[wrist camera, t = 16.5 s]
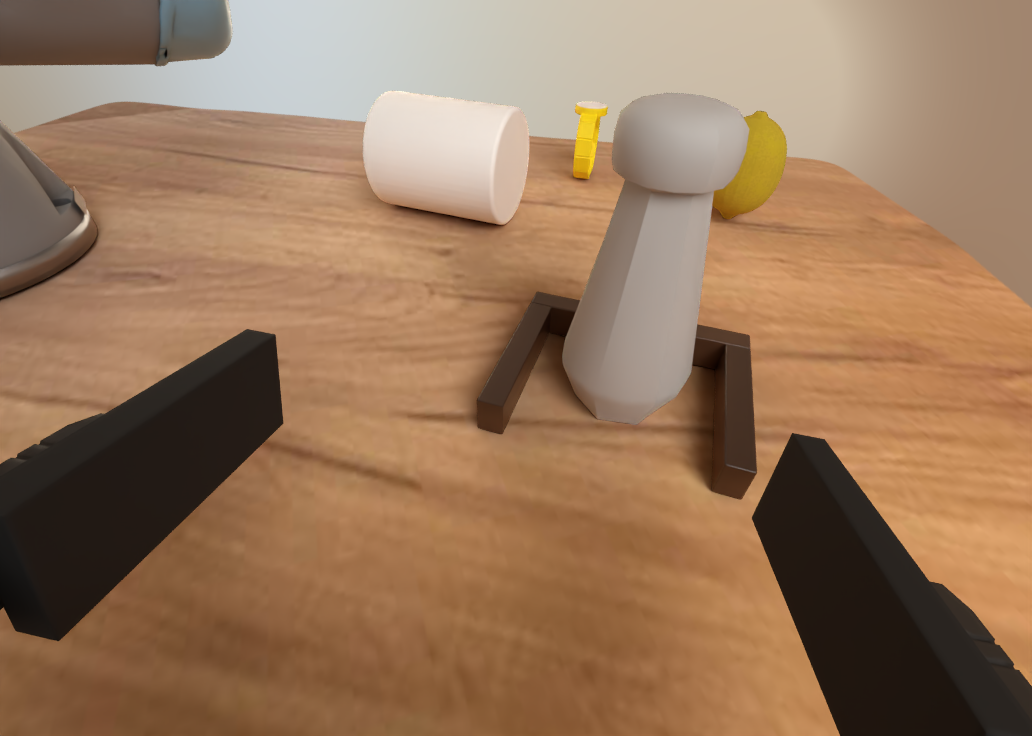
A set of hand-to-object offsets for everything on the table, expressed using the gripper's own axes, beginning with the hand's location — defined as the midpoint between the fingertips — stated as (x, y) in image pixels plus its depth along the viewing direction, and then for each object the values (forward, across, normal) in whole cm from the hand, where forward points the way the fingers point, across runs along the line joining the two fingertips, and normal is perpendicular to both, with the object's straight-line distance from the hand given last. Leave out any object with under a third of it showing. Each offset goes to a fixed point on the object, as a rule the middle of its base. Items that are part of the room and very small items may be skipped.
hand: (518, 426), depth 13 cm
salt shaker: (+11, +4, -4) cm, 13 cm away
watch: (+40, 0, +3) cm, 40 cm away
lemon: (+33, +13, +2) cm, 35 cm away
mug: (+31, -9, 0) cm, 33 cm away
